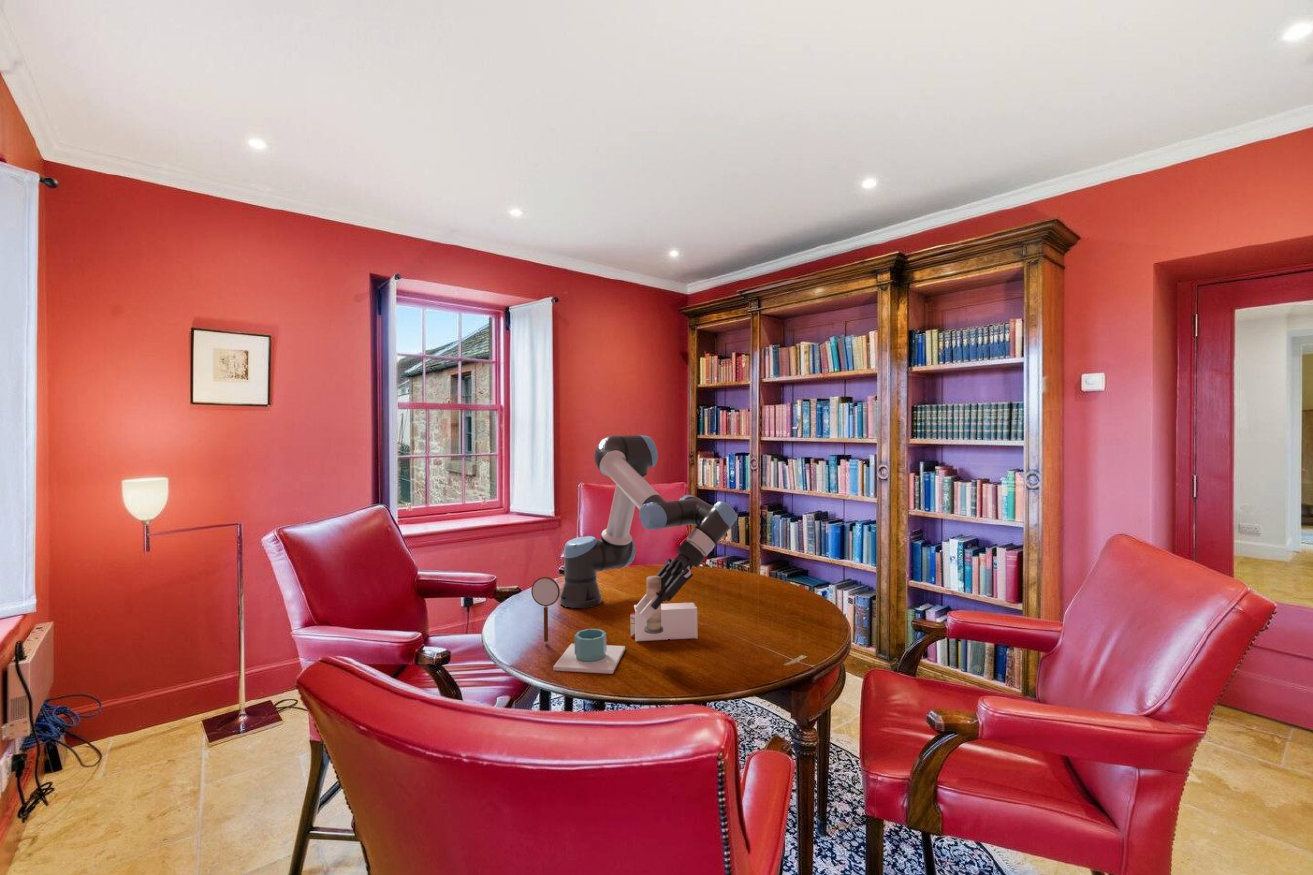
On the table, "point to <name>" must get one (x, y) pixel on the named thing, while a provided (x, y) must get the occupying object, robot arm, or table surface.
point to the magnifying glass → (545, 597)
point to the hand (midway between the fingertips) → (640, 613)
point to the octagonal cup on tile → (590, 654)
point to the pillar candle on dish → (655, 620)
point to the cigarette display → (668, 623)
